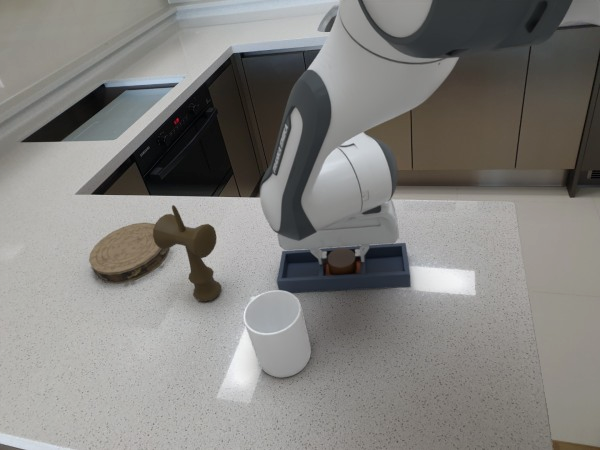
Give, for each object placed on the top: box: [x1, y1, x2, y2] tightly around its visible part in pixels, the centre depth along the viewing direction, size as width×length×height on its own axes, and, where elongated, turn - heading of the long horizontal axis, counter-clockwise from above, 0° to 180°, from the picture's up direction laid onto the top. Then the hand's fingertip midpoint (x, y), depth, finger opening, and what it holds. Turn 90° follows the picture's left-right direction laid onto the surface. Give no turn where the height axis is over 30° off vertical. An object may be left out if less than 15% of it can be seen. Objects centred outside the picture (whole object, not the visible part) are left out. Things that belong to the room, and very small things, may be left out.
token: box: [327, 248, 357, 275], centre depth 82 cm, size 5×5×2 cm
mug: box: [242, 289, 312, 378], centre depth 69 cm, size 12×8×10 cm
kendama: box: [153, 204, 222, 302], centre depth 79 cm, size 6×10×20 cm, turn 61°
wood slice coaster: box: [88, 222, 170, 284], centre depth 97 cm, size 16×16×3 cm
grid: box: [276, 242, 411, 294], centre depth 82 cm, size 8×23×3 cm, turn 85°
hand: (341, 261), depth 81 cm, fingers closed on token, 5 cm apart
